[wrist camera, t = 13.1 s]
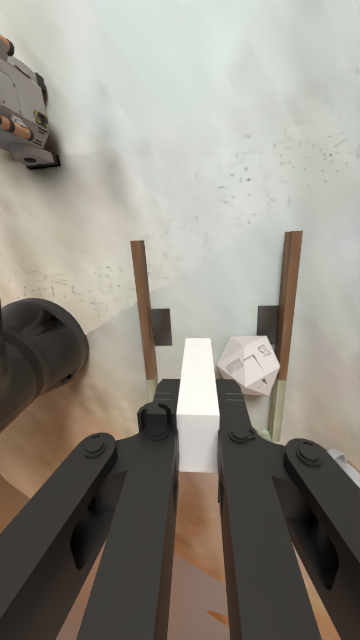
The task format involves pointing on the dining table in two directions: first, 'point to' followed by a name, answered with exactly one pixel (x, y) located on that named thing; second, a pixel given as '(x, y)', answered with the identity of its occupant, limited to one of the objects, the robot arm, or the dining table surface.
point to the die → (249, 364)
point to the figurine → (23, 112)
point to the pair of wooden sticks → (264, 327)
